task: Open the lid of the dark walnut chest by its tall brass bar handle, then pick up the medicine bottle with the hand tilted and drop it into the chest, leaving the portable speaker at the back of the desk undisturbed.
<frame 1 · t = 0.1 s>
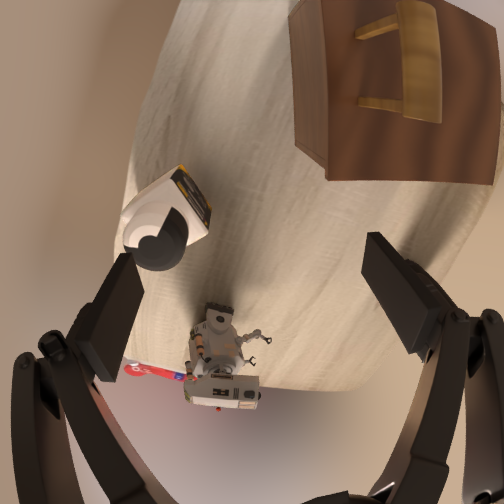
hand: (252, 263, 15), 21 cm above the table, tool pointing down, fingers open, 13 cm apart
chest lid: (466, 85, 12), point 19 cm above the table, hinge at 0.0°
portable speaker: (400, 277, 44), on the table
medicine bottle: (174, 200, 35), on the table
chest: (362, 82, 28), on the table
figurine: (225, 325, 46), on the table
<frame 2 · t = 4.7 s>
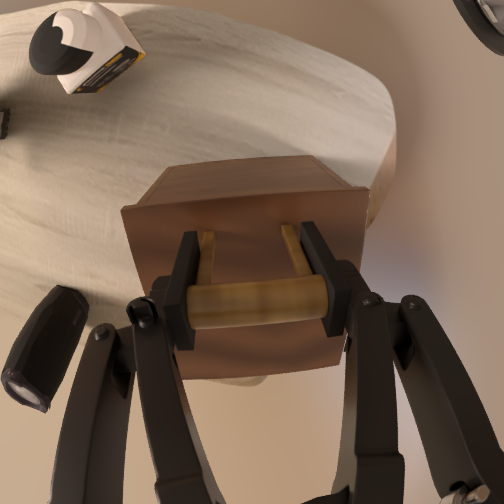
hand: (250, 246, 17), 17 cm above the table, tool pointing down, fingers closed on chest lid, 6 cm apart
chest lid: (258, 344, 19), point 19 cm above the table, hinge at 0.0°, touching gripper
portable speaker: (70, 301, 40), on the table
medicine bottle: (108, 53, 23), on the table
chest: (245, 229, 35), on the table
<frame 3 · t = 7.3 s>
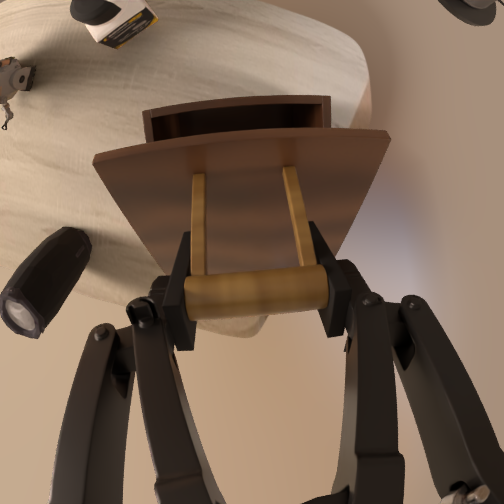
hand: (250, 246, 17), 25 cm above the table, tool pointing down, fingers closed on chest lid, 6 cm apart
chest lid: (252, 277, 20), point 23 cm above the table, hinge at 33.0°, touching gripper
portable speaker: (74, 244, 43), on the table
medicine bottle: (127, 19, 26), on the table
chest: (239, 161, 38), on the table
figurine: (15, 89, 28), on the table
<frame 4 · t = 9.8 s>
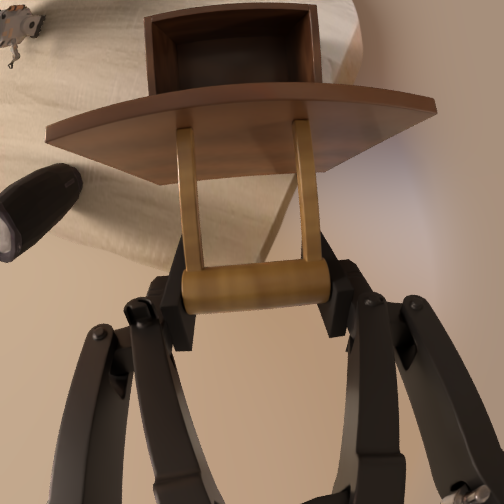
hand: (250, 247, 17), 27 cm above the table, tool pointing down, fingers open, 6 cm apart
chest lid: (246, 210, 18), point 25 cm above the table, hinge at 66.2°
portable speaker: (65, 183, 40), on the table
chest: (234, 89, 35), on the table
figurine: (23, 38, 24), on the table
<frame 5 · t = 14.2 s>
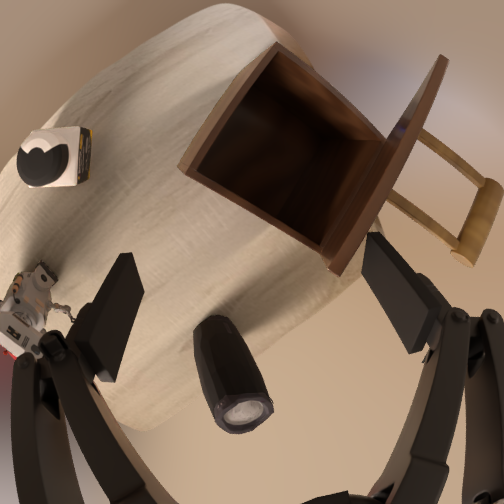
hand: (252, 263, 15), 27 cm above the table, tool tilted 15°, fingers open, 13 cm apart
chest lid: (412, 204, 21), point 25 cm above the table, hinge at 54.8°, touching gripper
portable speaker: (213, 332, 49), on the table
medicine bottle: (69, 155, 32), on the table
chest: (257, 148, 40), on the table
figurine: (45, 292, 37), on the table
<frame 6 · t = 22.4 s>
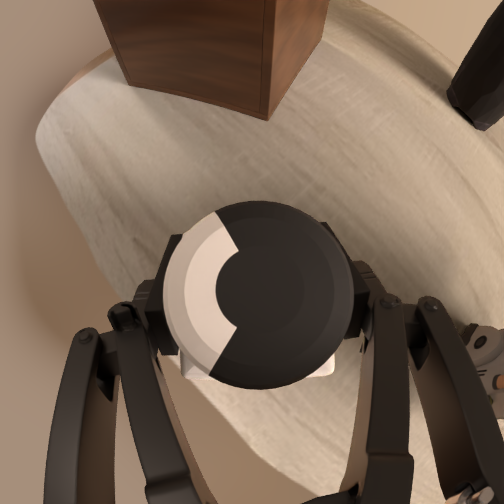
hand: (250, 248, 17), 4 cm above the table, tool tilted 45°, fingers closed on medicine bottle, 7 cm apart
portable speaker: (467, 109, 26), on the table
medicine bottle: (254, 311, 20), on the table, touching gripper
chest: (230, 52, 26), on the table
figurine: (484, 354, 18), on the table
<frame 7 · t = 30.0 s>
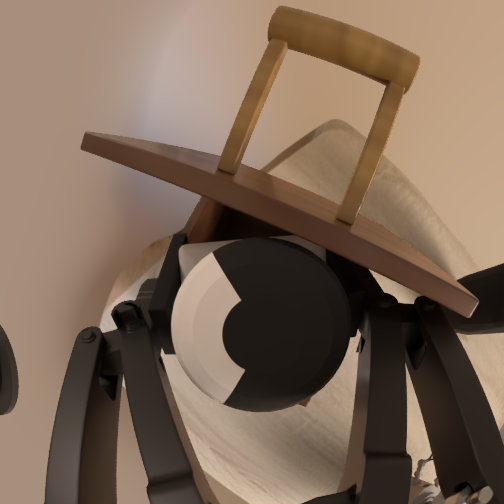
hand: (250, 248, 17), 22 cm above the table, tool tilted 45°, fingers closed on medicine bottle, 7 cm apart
chest lid: (317, 137, 16), point 25 cm above the table, hinge at 59.1°, touching gripper
portable speaker: (449, 308, 38), on the table
medicine bottle: (253, 300, 20), point 18 cm above the table, touching gripper
chest: (257, 295, 38), on the table
figurine: (402, 479, 30), on the table
when the fingers open (16 cm above the table, at t = 32.5 s): medicine bottle drops 11 cm, resting on chest.
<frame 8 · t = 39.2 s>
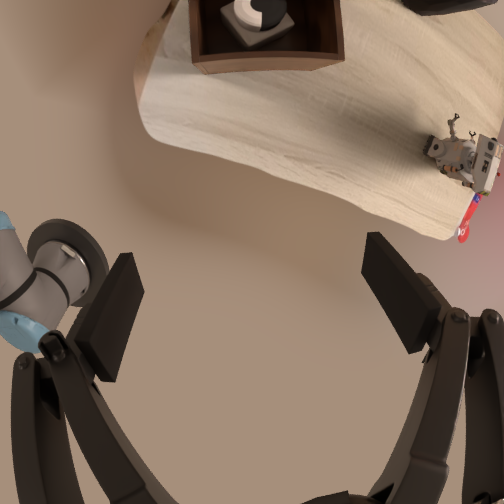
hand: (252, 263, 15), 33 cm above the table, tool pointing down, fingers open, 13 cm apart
medicine bottle: (253, 27, 33), point 1 cm above the table, touching chest
chest: (255, 21, 33), on the table
figurine: (442, 145, 44), on the table
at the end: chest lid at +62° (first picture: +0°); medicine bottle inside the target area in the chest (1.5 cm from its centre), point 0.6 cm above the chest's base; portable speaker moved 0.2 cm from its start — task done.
